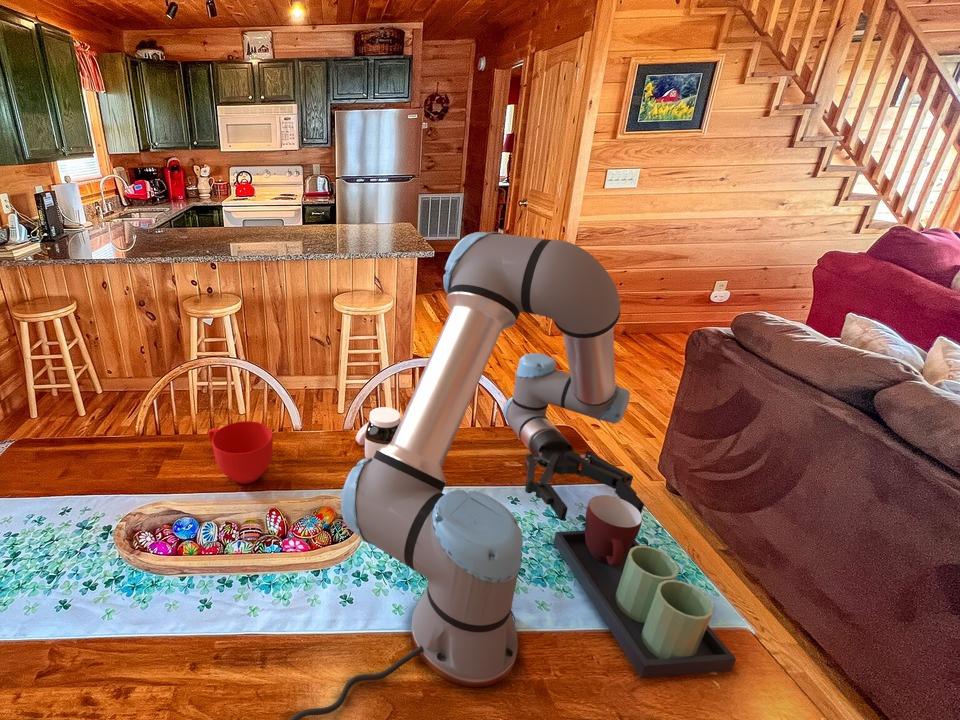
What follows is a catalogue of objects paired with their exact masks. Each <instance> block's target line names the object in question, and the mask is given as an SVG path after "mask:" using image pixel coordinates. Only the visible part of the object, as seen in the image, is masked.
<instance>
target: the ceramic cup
mask: <svg viewBox="0 0 960 720" xmlns="http://www.w3.org/2000/svg"><path fill="white" fill-rule="evenodd" d="M273 435H274V434H273V432H272V429H270V427H269V426H268V425H266V424H264V423H262V422H259V421H251V420H242V421H236V422H232V423H229V424H226V425H224V426H223V427H220V428H217V427H213V428H211V429H209V431H208V437H209V440H210V442H211V444H212V449H213V454H214V457H215V461H216V464H217V465H218V467H219V469H220V470H221V472H222V473H223V474H224V475H225V476H226V477H227V478H229V479H230V480H232V481H233V482H235V483H237V484H242V485H244V484H245V485H247V484H251V483H254V482H256V481H257V480H259V479H260V478H261V476H262V475H263V474H264V473H265V472H266V471H267V469H268V467H269V466H270V463H271V460H272V457H273V447H274V446H273V445H274V444H273V443H274V436H273Z"/></svg>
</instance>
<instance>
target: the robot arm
mask: <svg viewBox="0 0 960 720" xmlns="http://www.w3.org/2000/svg"><path fill="white" fill-rule="evenodd" d="M444 270H445V273H444V274H443V277H442V278H443V279H442V282H443V289H444V291H445V293H446V294H447V295H446V298H445V300H446V303H447V305H448V308H449V314H448V315H447V318H446V320H445V321H444V324H443V327H442V329H441V331H440V334H439V336H438V338H437V340H436V342H435V344H434V347H433V349H432V351H431V353H430V355H429V358H428V360H427V362H426V364H425V366H424V368H423V370H422V373H421V374H420V377H419V380H418V381H417V384H416V386H415V388H414V391H413V392H412V395H411V397H410V399H409V402H408V404H407V406H406V408H405V411H404V413H403V414H402V417H401V418H400V424H399V426H398V428H397V430H396V432H395V435H394V437H393V439H392V441H391V443H389V444H388V445H385V446H383V447H380V448H378V449H377V451H376V453H375V455H374V457H373V458H366V457H365V458H362V459H361V460H359V461H358V462H356V466H353V467H352V469H350V471H349V473H348V475H347V477H346V479H345V482H344V485H343V487H342V492H341V499H340V511H341V517H342V521H343V522H344V524H345V525H346V528H348V529H349V530H350V532H351V531H352V532H353V533H354V534H355V535H357V536H358V537H360V538H361V539H362V541H363V542H365V543H367V544H371V545H373V546H374V547H376V548H377V549H379V550H381V552H383V553H386V554H387V555H388V556H390V557H392V558H394V559H395V560H396V561H398V562H400V563H402V564H403V565H405V566H406V567H408V568H410V569H411V570H413V571H415V572H416V573H418V574H420V575H421V576H423V577H425V578H426V579H427V587H426V588H425V590H424V592H423V593H422V595H421V597H420V598H419V599H418V601H417V603H416V604H415V606H414V609H413V612H412V617H411V624H410V625H411V626H410V627H411V628H410V631H411V639H412V643H413V646H414V648H415V649H413V650H411V652H408V653H407V654H406V655H404V656H403V657H401V658H400V659H398V660H397V661H396V662H394V663H393V664H392V665H391V666H390V667H388V668H386V669H385V670H382V671H380V672H377V673H361V674H358V675H355V676H353V677H352V678H350V679H349V680H348V681H347V682H346V683H345V685H344V687H343V689H342V691H341V693H340V695H339V697H338V699H337V700H335V702H334V703H332V704H331V705H329V706H326V707H315V708H306V709H303V710H301V711H298V712H297V713H296V714H294V715H293V716H292V717H291V718H290V719H289V720H300V719H303V718H305V717H309V716H321V715H322V716H323V715H327V714H331V713H333V712H336V710H338V709H339V708H340V707H341V706H342V705H343V703H344V702H345V700H346V697H347V696H348V693H349V691H350V689H351V688H352V687H353V685H355V684H357V683H359V682H362V681H377V680H381V679H383V678H385V677H387V676H390V675H391V674H392V673H394V672H395V671H397V670H398V669H399V668H400V667H402V666H403V665H405V664H407V662H409V661H411V660H412V659H414V658H415V657H416V656H419V657H420V659H421V660H422V661H423V663H424V664H425V665H426V666H427V667H428V668H429V669H430V670H431V671H432V672H434V673H435V674H436V675H438V676H439V677H441V678H443V679H445V680H446V681H448V682H451V683H453V684H455V685H460V686H464V687H470V688H482V687H483V688H485V687H488V686H492V685H494V684H497V683H499V682H501V681H502V680H504V679H505V678H506V677H507V676H508V675H509V674H510V673H511V671H512V670H513V668H514V666H515V664H516V660H517V655H518V650H519V639H518V633H517V628H516V625H515V623H517V622H516V621H517V620H516V616H515V615H514V612H513V610H512V607H513V603H514V597H515V592H516V587H517V582H518V578H519V572H520V570H521V568H522V562H523V559H522V558H523V552H522V551H523V544H524V543H523V542H524V541H523V539H524V538H523V533H522V529H521V526H519V524H518V520H517V519H516V517H515V516H514V514H513V513H512V512H511V511H510V510H509V509H508V507H506V506H505V505H503V503H501V502H500V501H499V500H497V499H495V498H493V497H492V496H490V495H487V494H485V493H483V492H480V491H476V490H470V491H468V492H466V490H465V489H456V490H452V491H449V492H446V493H443V492H444V489H445V487H446V484H447V479H446V476H445V473H444V471H443V465H444V463H445V461H446V458H447V456H448V453H449V452H450V450H451V447H452V446H453V445H452V444H453V443H454V440H455V437H456V435H457V433H458V431H459V429H460V426H461V424H462V422H463V420H464V417H465V414H466V413H467V411H468V408H469V406H470V403H471V401H472V399H473V397H474V394H475V392H476V390H477V387H478V385H479V383H480V381H481V378H482V376H483V374H484V372H485V369H486V367H487V365H488V362H489V360H490V357H491V355H492V353H493V351H494V349H495V346H496V344H497V341H498V339H499V337H500V335H501V332H503V331H504V330H507V329H509V328H512V327H514V326H515V325H516V323H517V321H518V318H519V316H520V314H521V313H525V314H531V315H536V316H537V315H538V316H541V317H545V318H547V319H548V318H549V319H550V320H552V321H553V324H554V326H555V327H556V329H557V331H559V332H560V333H561V334H562V337H563V338H562V339H563V342H564V348H565V353H566V358H567V359H566V360H567V364H568V369H569V372H566V371H563V370H559V369H557V363H556V360H555V359H554V358H553V357H550V356H549V355H547V354H544V353H538V352H537V353H536V352H532V353H526V354H524V355H523V356H521V357H520V358H519V361H518V366H517V370H516V372H515V379H514V380H515V381H514V386H513V393H512V396H511V397H510V398H509V399H507V401H506V402H505V404H504V405H503V408H502V413H503V417H504V419H505V420H506V422H507V425H508V427H510V428H511V429H512V430H513V431H514V433H515V434H516V436H518V438H519V439H520V441H521V442H522V443H523V445H524V446H525V448H526V449H527V450H528V451H529V452H530V453H526V454H525V459H524V467H525V469H526V478H525V488H524V492H525V493H526V494H532V493H535V494H534V495H535V496H534V497H535V498H536V499H541V500H542V501H543V503H544V504H545V505H547V506H550V507H551V509H552V510H553V512H554V514H556V516H557V517H558V519H559V520H560V521H566V517H567V513H568V506H567V505H566V503H565V502H564V501H563V500H562V498H561V497H560V495H559V493H557V491H556V490H555V488H554V487H553V486H552V485H551V484H550V482H551V480H552V479H553V477H554V475H555V474H557V475H559V476H562V475H576V476H578V477H580V478H584V477H586V478H588V479H591V480H593V481H595V482H598V483H599V484H602V485H604V486H607V487H610V488H612V489H614V493H615V494H616V495H617V497H618V498H620V499H623V500H625V501H627V502H629V503H631V504H632V505H633V506H635V507H636V508H637V509H638V510H639V511H640V513H641V514H642V512H643V509H644V506H645V503H644V502H643V501H642V500H641V498H639V497H638V495H637V491H636V490H634V488H632V483H633V479H634V476H633V475H632V474H631V473H629V472H627V471H625V470H624V469H622V468H619V467H618V466H616V465H614V464H612V463H611V462H609V461H606V460H605V459H603V458H601V457H599V456H598V455H597V454H595V452H593V451H592V450H586V451H585V454H580V453H578V452H576V451H575V450H574V448H573V446H572V444H571V443H570V441H569V440H568V439H567V437H565V436H564V434H563V433H562V432H561V431H560V430H559V429H558V427H557V426H556V425H555V424H554V423H553V422H552V421H551V420H550V418H549V417H548V416H547V410H548V406H549V405H552V406H555V407H558V408H561V409H564V410H568V411H570V412H574V413H577V414H579V415H583V416H586V417H589V418H592V419H594V420H597V421H602V422H606V423H610V424H619V423H621V421H622V420H623V418H624V416H625V414H626V411H627V409H628V405H629V402H630V397H631V393H630V390H628V389H627V388H624V387H621V386H619V385H616V365H615V364H616V363H615V339H614V337H615V335H614V328H615V327H616V325H617V324H618V322H619V320H620V318H621V298H620V293H619V292H618V289H617V287H616V284H615V282H614V280H613V278H612V277H611V275H610V273H609V272H608V271H607V270H606V268H605V267H604V266H603V265H602V264H601V262H600V261H599V260H598V259H597V258H595V256H594V255H592V254H591V253H590V252H589V251H587V250H586V249H584V248H582V247H580V246H578V245H577V244H574V243H572V242H570V241H566V240H560V239H548V238H541V237H532V236H531V237H530V236H523V235H522V236H521V235H514V234H504V233H502V232H500V231H490V232H484V231H476V232H473V233H470V234H467V235H465V236H464V237H462V238H461V239H460V240H459V241H458V242H457V243H456V245H455V246H454V248H453V249H452V250H451V252H450V254H449V256H448V259H447V261H446V263H445V267H444ZM538 465H539V467H542V468H544V470H543V472H542V474H541V476H540V478H539V479H538V481H536V482H535V474H536V473H535V472H536V467H537V466H538ZM580 465H581V468H580ZM579 468H580V469H579Z"/></svg>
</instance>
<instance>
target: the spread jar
mask: <svg viewBox="0 0 960 720" xmlns="http://www.w3.org/2000/svg"><path fill="white" fill-rule="evenodd" d="M400 421H401V413H400V412H399V411H398V410H397V409H396V408H393V407H390V406H389V407H388V406H380V407H376V408H374V409H373V408H372V410H371V411H370V412H369V421H368V422H366V423H364V424H363V425H362V427H361V428H360V429H359V430H358V432H357V433H356V436H355V441H356V442H357V443H358V445H360V446H364V457H365V458H373V457H374V455H375V453H376V451H377V449H378V448H380V447H383V446H385V445H388V444H389V443H391V441H392V439H393V437H394V435H395V432H396V430H397V428H398V426H399V424H400Z"/></svg>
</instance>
